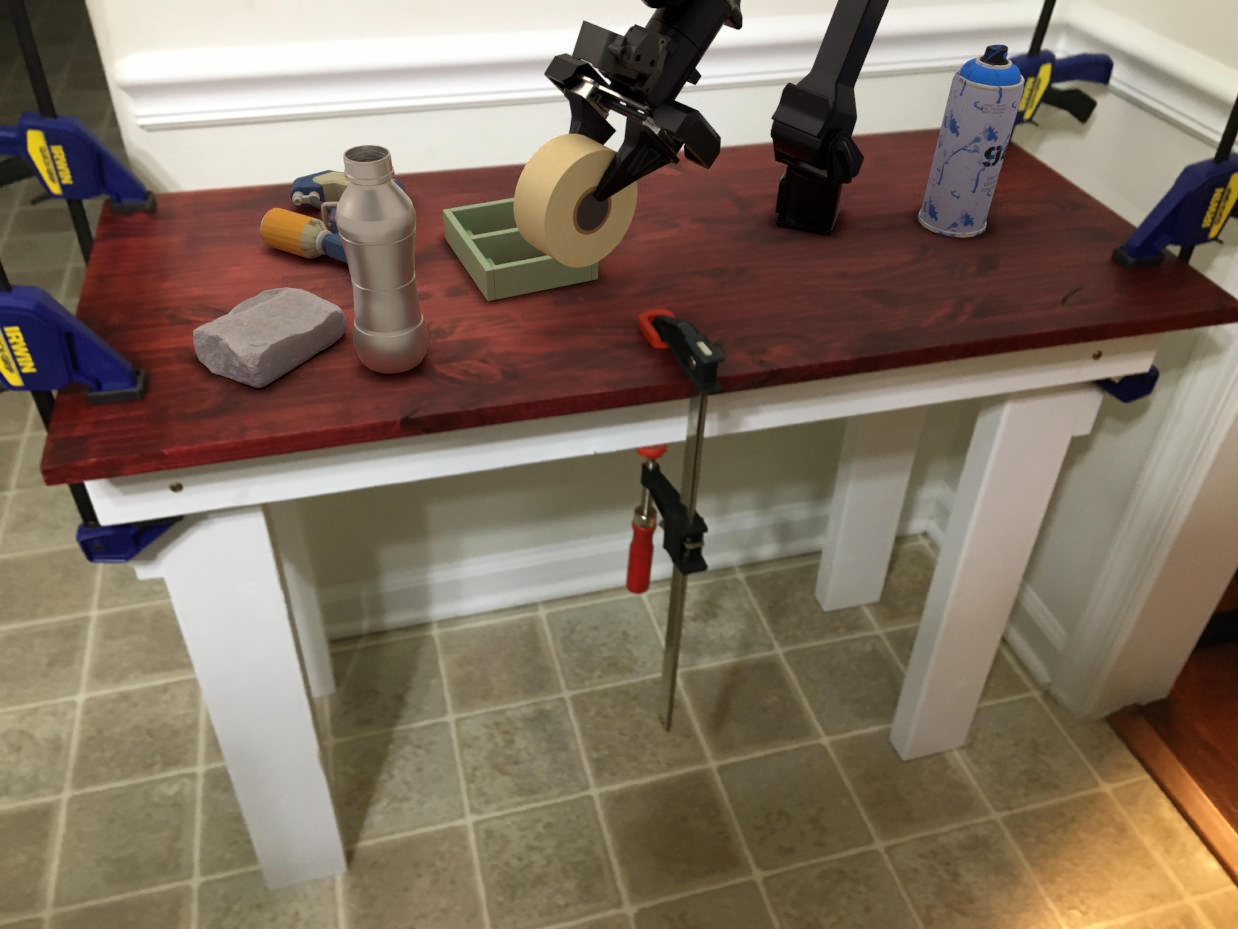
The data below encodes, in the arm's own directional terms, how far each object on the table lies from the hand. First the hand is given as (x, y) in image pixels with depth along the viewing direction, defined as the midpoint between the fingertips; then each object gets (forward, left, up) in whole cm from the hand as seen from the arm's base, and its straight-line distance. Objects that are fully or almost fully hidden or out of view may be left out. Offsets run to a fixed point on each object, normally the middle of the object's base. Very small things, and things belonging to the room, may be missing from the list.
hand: (579, 189), depth 92 cm
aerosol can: (-33, -36, -14) cm, 51 cm away
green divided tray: (+10, -9, -13) cm, 19 cm away
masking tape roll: (0, 0, -1) cm, 1 cm away
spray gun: (+31, -6, -14) cm, 34 cm away
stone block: (+25, +16, -14) cm, 32 cm away
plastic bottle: (+13, +14, -14) cm, 23 cm away
